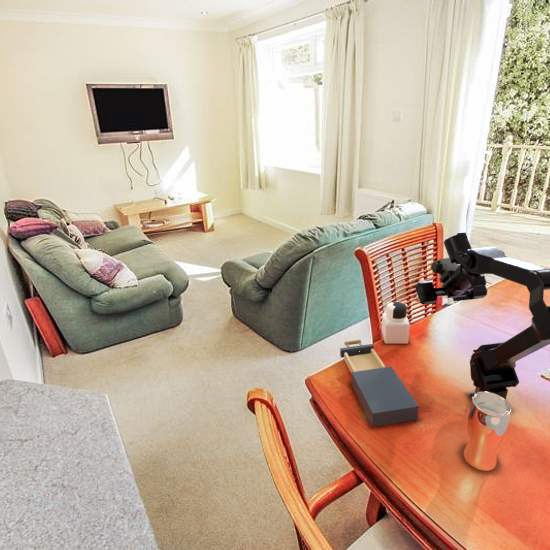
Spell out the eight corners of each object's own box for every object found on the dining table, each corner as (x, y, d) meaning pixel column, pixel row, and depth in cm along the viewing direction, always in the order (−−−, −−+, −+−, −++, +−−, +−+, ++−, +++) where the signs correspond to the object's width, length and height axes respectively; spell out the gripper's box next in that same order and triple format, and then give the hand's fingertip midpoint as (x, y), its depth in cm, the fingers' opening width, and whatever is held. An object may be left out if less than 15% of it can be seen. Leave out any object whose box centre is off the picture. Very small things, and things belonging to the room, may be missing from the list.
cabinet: (351, 384, 102) (351, 372, 100) (390, 378, 103) (391, 366, 101) (372, 427, 88) (372, 413, 86) (417, 419, 89) (418, 406, 87)
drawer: (336, 348, 116) (336, 341, 115) (367, 343, 117) (367, 336, 116) (355, 387, 99) (356, 379, 98) (391, 381, 100) (392, 373, 99)
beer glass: (453, 451, 80) (463, 397, 74) (478, 440, 82) (490, 386, 76) (480, 478, 74) (493, 421, 68) (506, 465, 76) (521, 409, 70)
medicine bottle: (403, 331, 123) (406, 299, 118) (408, 344, 117) (411, 310, 112) (381, 331, 124) (383, 299, 119) (384, 343, 118) (387, 310, 113)
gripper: (485, 248, 102) (459, 274, 116) (419, 255, 101) (401, 280, 115) (501, 284, 97) (472, 307, 111) (432, 292, 96) (411, 314, 110)
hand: (438, 301), depth 112 cm, fingers open, 9 cm apart
